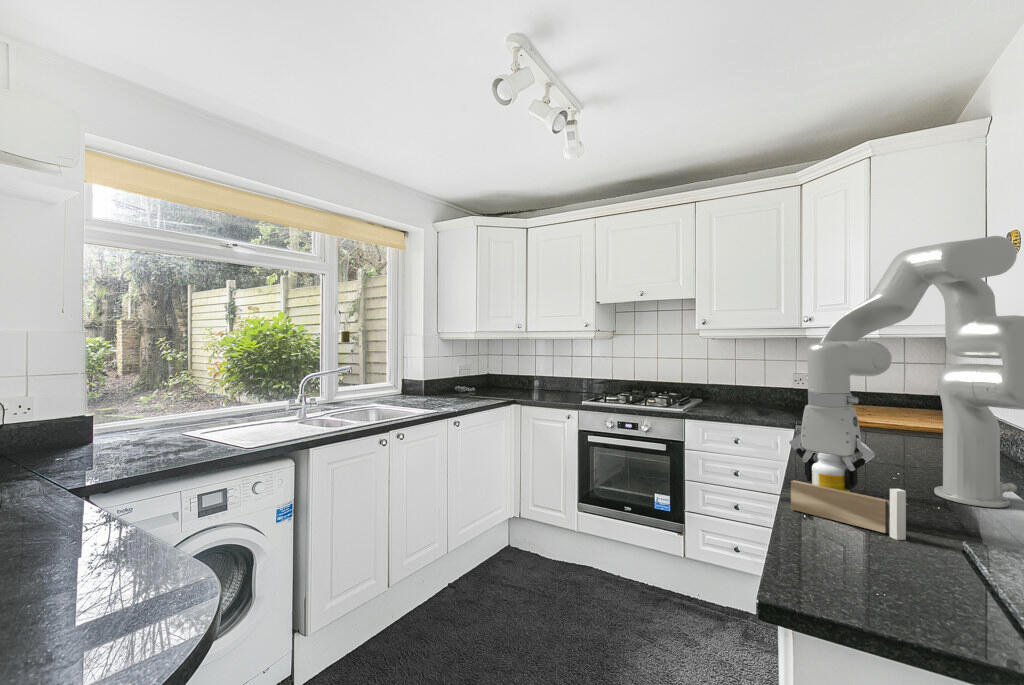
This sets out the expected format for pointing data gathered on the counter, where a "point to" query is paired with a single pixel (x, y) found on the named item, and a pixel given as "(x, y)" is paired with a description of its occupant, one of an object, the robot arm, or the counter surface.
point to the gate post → (898, 514)
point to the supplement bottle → (829, 472)
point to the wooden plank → (841, 506)
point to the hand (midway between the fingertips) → (830, 483)
